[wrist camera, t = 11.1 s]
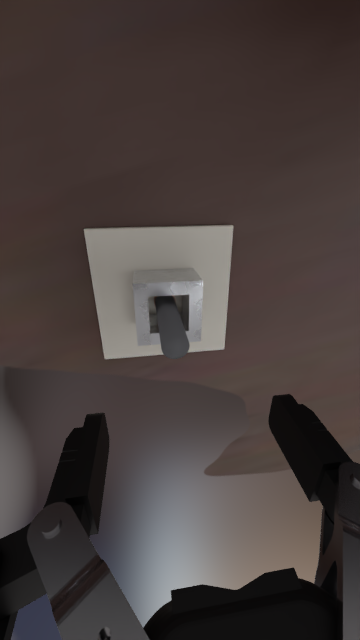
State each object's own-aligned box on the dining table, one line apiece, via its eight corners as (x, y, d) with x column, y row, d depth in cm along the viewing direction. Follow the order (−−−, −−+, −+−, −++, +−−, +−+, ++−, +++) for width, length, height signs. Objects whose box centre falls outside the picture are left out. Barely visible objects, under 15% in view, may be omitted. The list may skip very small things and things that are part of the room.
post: (85, 228, 24) (47, 248, 14) (230, 224, 26) (285, 240, 16) (105, 354, 30) (88, 430, 20) (221, 345, 32) (258, 410, 22)
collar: (133, 270, 25) (132, 283, 21) (193, 267, 26) (203, 280, 22) (138, 324, 28) (137, 346, 24) (192, 321, 29) (201, 341, 25)
